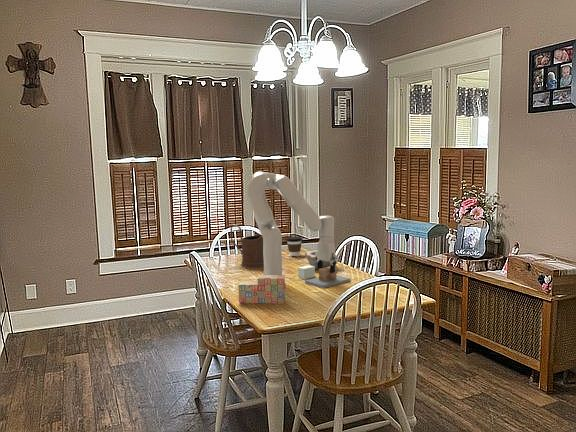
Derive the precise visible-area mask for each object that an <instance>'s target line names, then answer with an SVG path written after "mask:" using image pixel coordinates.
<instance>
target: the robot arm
mask: <svg viewBox="0 0 576 432" xmlns="http://www.w3.org/2000/svg"><path fill="white" fill-rule="evenodd" d="M247 186H248V187H247V198H248V201H249V204H250V206H251V209H252V212H253V218H254V220H255V222H256V224H257V227H258V229H259V232H260V235H262V237H263V257H264V268H263V275H283V259H282V257H283V255H282V253H283V252H282V250H283V249H282V242H283V235H282V232H281V230H280V228H279V227H278V225H277V222H276V220H275V218H274V213H273V211H272V209H271V207H270V204H269V202H268V201H267V196H266V193H265V190H266V189H267V190H274V191H277V192H278V193H279V194H280V196H281V197H282V198H283V200H284V201H285V202H286V204H287V205H288V206H289V207H290V208H291V210H293V211H294V212H295V213H296V214H297V215H298V216H299V217H300V219H301V220H302V221H303V223H304V225H305V227H306V228H307V229H308V230H310V231H312V232H318V231H319V240H318V242H317V249H316V251H317V252H316V253H315V257H316V260H317V262H318V265H317V269H316V270H317V271H319V269H321V268H323V262H321V261H322V260H323V261H327V262H330V264H331V265H330V273H334V272H335V268H336V266H337V264H338V261H339V260H340V259H339V258H340V257H338V255H337V254H336V246H335V218H334V216H332V215H318V214H317V213H316V212H315V210H314V209H313V208H312V206H310V203H309V202H308V201H307V200H306V199H305V197H304V196H303V195H302V192H300V191H299V189H298V188H297V187H296V186H295V184H294V183H293V182H292V180H291V179H290V178H289V177H288V176H286V175H284V174H278V173H272V172H265V171H256V172H255V173H253V174H252V176H251V180H250V181H249V184H248V185H247ZM336 255H337V256H336ZM332 261H333V262H332ZM256 282H258V280H256Z"/></svg>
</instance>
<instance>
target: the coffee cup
mask: <svg viewBox="0 0 576 432" xmlns="http://www.w3.org/2000/svg"><path fill="white" fill-rule="evenodd" d="M285 241H286V242H287V244H286V245H287V248H288V255H289V257H292V256H297V257H300V254H301V252H302V251H301V250H302V249H301V247H302V241H303V238H302V237H301V236H289V237H287V238H286V240H285Z"/></svg>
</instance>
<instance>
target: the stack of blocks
mask: <svg viewBox="0 0 576 432" xmlns="http://www.w3.org/2000/svg"><path fill="white" fill-rule="evenodd" d="M285 276H286V275H283V274H282V275H264V274H263V275H262V274H260V275H258V276H257V281H258V282H257V281H240V282H239V284H238V303H271V305H272V304H273V305H274V304H275V305H279V304H280V305H281V304H283V305H284V304H285V301H286V282H285V281H286V280H285V279H286V278H285Z"/></svg>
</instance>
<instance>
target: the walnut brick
mask: <svg viewBox="0 0 576 432" xmlns="http://www.w3.org/2000/svg"><path fill="white" fill-rule="evenodd" d="M336 275H337V267H335V272H334V273H330V267H325V268H321V269H319V270H318V277H319V280H321V281H325V282H326V281H330V280H334V279H336Z"/></svg>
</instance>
